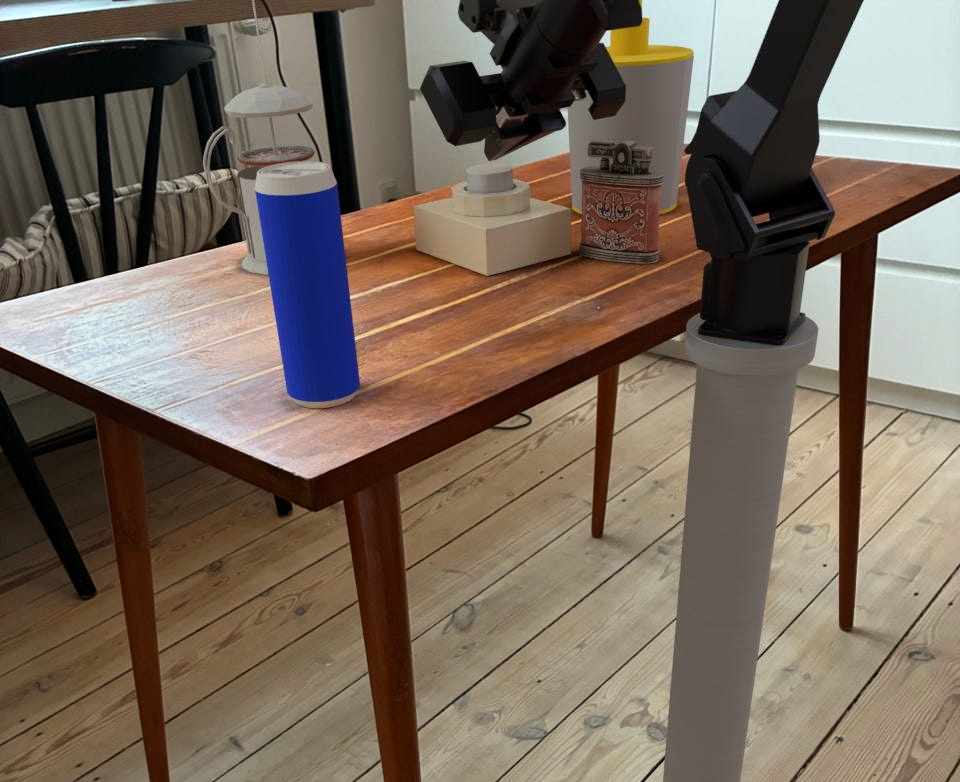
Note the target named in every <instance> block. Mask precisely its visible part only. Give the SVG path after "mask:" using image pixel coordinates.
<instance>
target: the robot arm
mask: <svg viewBox="0 0 960 782" xmlns="http://www.w3.org/2000/svg"><path fill="white" fill-rule="evenodd" d="M864 1H865V0H778V1H777V3H776V6H775V8H774V11H773V14H772V16H771V19H770V21H769V24H768V26H767V28H766V30H765V34H764V36H763V39H762V41H761V44H760V47H759V49H758V52H757V54H756V57H755V59H754V62H753V65H752V67H751V70H750V72H749V74H748V76H747V78H746V79H745V81H744V83H743V84H742V85H741V86H740V87H739V88H737V90H732V91H727V92H723V93H716V94H712V95H709V96H708V97H706V100H705V102H704V103H703V106H702V107H701V109H700V114H699V118H698V122H697V126H696V129H695V133H694V134H693V137H692V139H691V141H690V142H689V143H688V145H687V146H686V147H684V149H683V152H684V154H685V155H690V156H689V158H688V161H687V164H686V168H685V172H684V186H685V187H686V191H687V198H688V204H689V210H690V215H691V220H692V226H693V232H694V238H695V244H696V248H697V249H698V250H699V251H703V252H705V253H708V254H709V256H710V257H711V259H710V260H709V261H707V263H706V264H705V265H703V270H702V271H703V272H702V273H703V274H702V285H701V299H700V311H699V313H700V318H701V319H702V320H706V321H705V322H704V323H703V324H701V325H700V326H699V327H698V334H699V335H703V336H710V337H717V338H725V339H732V340H739V341H746V342H754V343H761V344H768V345H776V346H780V345H784V344H785V343H786V342H787V340H788V339H789V338H790V337H791V336H792V335H793V333H794V332H795V331H796V330H797V329H798V328H799V326H800V325H801V324H802V323H803V322H804V320H805V316H806V313H805V312H801V308H802V301H803V300H802V299H803V293H804V286H805V278H806V273H807V272H806V271H807V264H808V259H809V257H808V256H809V249H810V242H812V241H815V240H816V241H819V240H822V239H824V238H826V235H827V234H828V231H829V229H830V227H831V225H832V223H833V220H834V219H835V216H836V211H835V208H834V206H833V204H832V202H831V201H830V199H829V197H828V195H827V194H826V192H825V190H824V188H823V186H822V185H821V183H820V180H819V179H818V177H817V175H816V174H815V172H814V169H813V164H814V161H815V158H816V155H817V152H818V148H819V145H820V119H819V102H820V99H821V95H822V93H823V91H824V89H825V86H826V84H827V82H828V80H829V78H830V76H831V73H832V72H833V69H834V67H835V64H836V62H837V60H838V58H839V56H840V54H841V52H842V50H843V47H844V45H845V43H846V41H847V38H848V36H849V34H850V32H851V29H852V28H853V25H854V23H855V22H856V21H855V20H856V18H857V16H858V14H859V12H860V10H861V8H862V6H863V3H864ZM457 15H458V19H459V21H460V22H461V23H462V24H463V25H464V26H465V27H466V28H467V29H469V31H470V32H471V33H474V34H475V33H482V35H484V37H485V38H486V39H488V41H489V42H491V43H492V44H493V46H492V48H491V50H490V52H489V55H490V57H491V59H492V61H493V63H494V65H495V66H496V67H497V66H500V67H501V69H502V71H501V72H499V73H493V74H485V75H480V74H479V72H478V70H477V68H476V66H475V64H474V62H473V61H467V60H460V61H452V62H445V63H439V64H433V65H429V67H428V69H427V71H426V73H425V75H424V78H423V80H422V82H421V84H420V87H419V90H420V91H421V94H422V96H423V98H424V100H425V102H426V104H427V106H428V107H429V110H430V112H431V113H432V116H433V118H434V119H435V121H436V123H437V125H438V127H439V129H440V131H441V133H442V135H443V137H444V139H445V141H446V142H447V143H449V144H450V145H452V146H453V147H459V146H460V147H461V146H465V145H471V144H475V143H480V142H482V141H484V145H483V146H484V147H483V153H484V155H485V157H486V159H487V161H488V162H493V161H497V160H499V159H502V158H504V157H505V156H508V155H509V154H511V153H513V152H515V151H517V150H519V149H521V148H523V147H526V146H527V145H529V144H531V143H534V142H536V141H538V140H541V139H543V138H545V137H547V136H549V135H551V134H554V133H556V132H558V131H562V130H563V129H565V128H566V126H567V121H566V119H565V117H564V115H563V113H562V111H561V110H562V109H565V108H568V107H571V105H572V104H573V102H574V101H579V100H584V99H585V98H586V96H587V95H586V93H585V91H586V90H587V91H588V93H589V95H590V97H591V99H592V101H593V103H592V105H591V106H590V108H589V109H588V110H589V112H590V114H591V116H592V118H593V120H597V119H602V118H607V117H613V116H615V115H616V114H617V113H618V111H619V110H620V108H621V107H622V106H623V104H624V103H625V100H626V85H625V83H624V81H623V79H622V77H621V75H620V73H619V72H618V70H617V68H616V66H615V64H614V62H613V60H612V58H611V56H610V54H609V53H608V51H607V49H606V47H607V46H606V45H605V43H604V42H601V41H602V39H603V38H604V36H605V34H606V33H607V31H608V32H609V31H611V30H616V29H623V28H631V27H638V26H640V25H641V24H642V18H643V7H642V8H641V5H640V2H639V0H459V3H458V8H457ZM766 214H768V218H769V219H768V220H765V221H761V222H757V223H756V221H755V220H754V217H758V216H762V215H766Z"/></svg>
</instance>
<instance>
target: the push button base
mask: <svg viewBox="0 0 960 782" xmlns="http://www.w3.org/2000/svg"><path fill="white" fill-rule="evenodd" d="M450 196H451V197H447V198H443V199H439V200H434V201H428V202H425V203H420V204H415V205H413V206H412V209H413V210H412V211H413V223H414V235H415V249H416V251H418V252H421V253H424V254H426V255H428V256H429V255H430V256H432V257H434V258H437V259H440V260H443V261H445V262H448V263H451V264H453V265H456V266H459V267H462V268H463V269H464V268H465V269H467V270H470V271H472V272H476V273H478V274H481V275H483V276H486V277H490V276H493V275H497V274H501V273H505V272H508V271H512V270H516V269H520V268H525V267H528V266H531V265H535V264H539V263H543V262H546V261H547V262H548V261H550V260H554V259H558V258H563V257H566V256H570V255H571V254H572V207H571V208H570V207H567V206H563V205H560V204H555V203H551V202H549V201H545V200H540V199H537V198H533V197H531V186H530V185H529V183H528V182H527V181H524V180H519V179H515V178H513V190H510V191H505V192H501V193H487V194H486V193H472V192H469V191H467V181H466V180H465V181H461V182H458V183H456V184H454V185H452V186H451V187H450Z"/></svg>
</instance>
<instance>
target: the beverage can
mask: <svg viewBox="0 0 960 782" xmlns="http://www.w3.org/2000/svg"><path fill="white" fill-rule="evenodd" d="M255 180H256V184H255V193H256V199H257V205H258V212H259V218H260V224H261V230H262V237H263V243H264V249H265V256H266V262H267V268H268V275H267V276H268V280H269V287H270V293H271V299H272V306H273V312H274V318H275V325H276V331H277V338H278V344H279V349H280V356H281V362H282V369H283V374H284V382H285V387H286V393H287V395H288V396H289V397H290V399H291V400H292V401H293V402H294V403H296V405H298V406H300V407H304V408H309V409H326V408H334V407H338V406H341V405H344V404H346V403H348V402H350V401H351V400H353V398H354V397H355V396H356V394H358V391H359V389H360V387H361V380H360V372H359V364H358V354H357V353H358V352H357V347H356V346H357V344H356V337H355V336H356V335H355V329H354V321H353V320H354V319H353V318H354V317H353V310H352V302H351V301H352V300H351V293H350V284H349V275H348V267H347V257H346V249H345V242H344V241H345V240H344V233H343V224H342V215H341V214H342V213H341V206H340V198H339V197H340V196H339V188H338V182H337V179H336V177H335V175H334V172H333V170H332V167H331V165H330V164H329V163H325V162H323V161H312V160H311V161H310V160H306V161H298V162H287V163H280V164H274V165H270V166H267V167H264V168H262V169H260V170H258V172H257V177H256V179H255Z"/></svg>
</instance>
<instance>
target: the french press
mask: <svg viewBox="0 0 960 782" xmlns="http://www.w3.org/2000/svg"><path fill="white" fill-rule="evenodd" d="M251 4H252V10H253V16H254V23H255V31H256V37H257V44H258V51H259V57H260V64H261V70H262V77H263V83H261V84H260V85H259V86H255V87H253V88H249V89H246V90H243V91H241V92H240V93H238V94H237V95H235V96H234V97H233V98H232V99H231V100H230V101H229V102H228V103H227V104H226V105H224V107H223V108H224V112H225V114H226V115H227V116H229V117H231V118H236V119H237V118H240V119H242V118H243V119H248V118H249V119H250V118H251V119H253V118H256V119H257V118H260V119H261V118H269V125H270V131H271V138H272V144H273V146H272V145H270V146H269V145H266V146H260V147H259V146H258V147H254V148H250V149H247V150H243V151H242V152H240V153H239V154H238V155H237V160H238V162H239V163H240V164H243V165H246V166H249V167H246V168H244V169H242V170H240V171H238V172H237V179H238V184H239V190H240V198H241V201H242V202H241V203H242V208H243V210H242V209H241V208H239V207H236V206H234V205H231V204H228V203H226V202H225V201H224V200H223V199H221V197H220V195H219V193H218V192H217V190H216V188H215V186H214V184H213V180H212V174H211V157H212V152H213V149H214V147H215V146H216V144H217V142H218V141H219V139H220V138H221V137H222V136H223V135H225V134H226V133H227V135H228V141H229V142H230V144H231V145H233V146H235V145H236V137H235V132H234V130H232V128H230V127H229V126H227V125H222V126H221V127H219V128H218V129H216V130H215V131H214V132H213V133H212V134H211V136H210V137H209V139H208V140H207V142H206V145H205V148H204V153H203V160H202V166H203V171H204V176H205V181H206V183H207V186H208V188H209V190H210V192H211V193H212V195H213V197H214V198H215V199H216V200H217V201H218V202H219V203H220V205H222V206H223V207H224V208H226V209H227V210H228V211H231V212H233V213H235V214H238V215H241V219H242V225H243V230H244V236H245V242H246V248H247V255H246V256H245V258H244V259H242V260H243V261H242V262H241V268H242V269H244V270H245V271H247V272H249V273H252V274H258V275H265V276H269V275H268V268H267V262H266V256H265V249H264V243H263V237H262V230H261V224H260V218H259V212H258V205H257V199H256V193H255V184H256V177H257V172H258V170H260V169H262V168H264V167H267V166H270V165H274V164H280V163H287V162H298V161H309V160H310V159H311V158H312V157H314V155H315V150H314V148H312V147H310V146H307V145H302V144H301V145H298V144H294V145H292V144H287V146H286V144H284V145H283V144H281V145H279V144H276V138H275V132H274V124H273V118H274V117H283V116H290V115H296V114H302V113H306V112H309V111H310V110H312V109H313V106H314V101H313V99H312V98H310V97H309V96H307V95H305V94H304V93H302V92H301V91H299V90H297V89H294V88H290V87H288V86H281V85H272V83H270V82H267V77H266V71H265V63H264V58H263V57H264V56H263V50H262V45H261V37H260V31H259V24H258V18H257V10H256V3H255V0H251Z"/></svg>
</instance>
